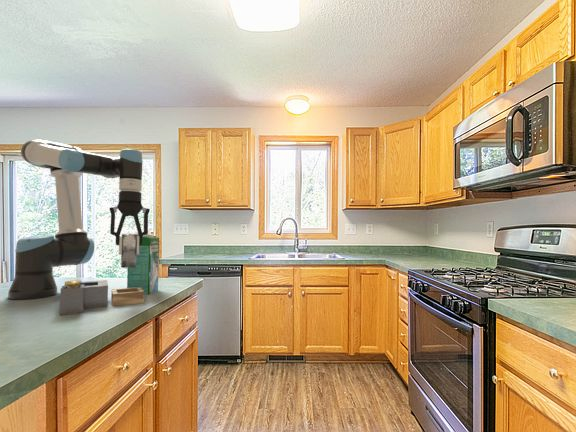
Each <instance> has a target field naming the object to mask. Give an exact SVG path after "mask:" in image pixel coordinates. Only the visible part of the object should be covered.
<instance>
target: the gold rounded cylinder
mask: <svg viewBox="0 0 576 432" xmlns="http://www.w3.org/2000/svg"><path fill="white" fill-rule="evenodd" d="M81 282H82V280H68V281H64V285H67V288H76V287H79V284H81Z"/></svg>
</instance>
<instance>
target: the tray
mask: <svg viewBox="0 0 576 432" xmlns="http://www.w3.org/2000/svg"><path fill="white" fill-rule="evenodd" d="M110 295H111V297H110V299H111V300H110V301H111V304H112V305H111V307H115V306H123V305H125V306H126V305H134V304H144V303H145V295H144V291H143V289H142V288H141V287H135V288H127V287H125V288H123V287H122V288H114V289H111V294H110Z"/></svg>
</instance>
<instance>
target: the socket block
mask: <svg viewBox="0 0 576 432" xmlns="http://www.w3.org/2000/svg"><path fill="white" fill-rule="evenodd" d="M108 295H109V284H108V280H107V279H103V280H90V281H81V284H79V287H76V288H67V285H65V284H64V285H62V286H61V288H60V298H59V301H60V302H59V316H65V315H74V314H83V313H84V309H93V308H101V307H108V300H109V296H108Z"/></svg>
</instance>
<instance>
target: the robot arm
mask: <svg viewBox="0 0 576 432" xmlns="http://www.w3.org/2000/svg"><path fill="white" fill-rule="evenodd" d="M20 155H21V157H22V159H23V160H24V161H25V162H27V163H28V164H30V165H32V166H35V167H39V168H44V169H48V170H49V171H50V176H52V177H53V178H54V179H55V180H54V181H55V194H56V205H57V207H56V208H57V221H58V222H57V223H58V231H57V233H56V234H55V235H54V234H53V235H52V234H45V235H34V236H33V235H32V236H26V237H22V238H18V239H17V241H16V248H15V251H14V252H15V267H14V268H15V269H14V278H13V280H12V283H11V285H10V287H9V289H8V293H7V298H8V299H11V300H31V299H40V298H46V297H51V296H54V295H56V294H58V285H57V283H56V279H55V278H54V273H53V272H54V271H53V269H54V267H65V266H78V265H83V264H87V263H88V262H89V261H91V259H92V257H93V256H94V253H95V241H94V240H93V239H92V238H91V237H88V232H87V231H85V230H84V229H83V227H84V226H83V217H82V207H81V205H82V204H81V192H80V182H79V178H80V177H81V176H82V175H83V174H88V175H89V174H90V175H96V176H102V177H104V178H105V179H115V178H119V181H118V182H119V183H118V186H119V187H118V189H119V192H118V204H117V205H116V206H111V207H109V208H108V209H109V212H110V229H109V231H110V232H109V233H110V235H113V236H115V246H118V255H119V256H121V255H122V235H121V232H122V229H123V227H124V223H125V220H126V218H127V217H133V220H134V225H135V227H136V231H137V233H138V235H139V236H137V248H136V254H139V245H142V237H143V236H144V235H146V234H148V233H149V213H150V211H151V210H150V208H147V207H143V205H142V192H141V191H143V190H142V183H143V182H142V180H143V179H142V178H143V163H144V161H143V154H142V152H141V151H140V150H138V149H134V148H123V149H121V150H120V153H119V156H118V157H117V156H116V157H112V156H107V155H103V154H97V153H92V152H86V151H84V150H82V148H81V147H77V146H74V145H71V144H64V143H60V142H54V141H49V140H43V139H31V140H29V141H26V142H25V143H23V145H22V146H21V148H20ZM117 210H119V212H120V213H121V215H120V216H121V217H120V220H119V224H118V226H117V230H116V231H115V229H116V228H115V225H116V213H117V212H118V211H117ZM141 211H142V213H143V230H142V227H141V223H140V220H139V213H140V212H141Z"/></svg>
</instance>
